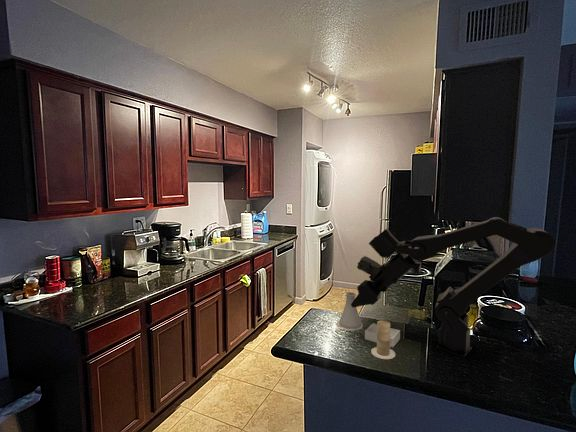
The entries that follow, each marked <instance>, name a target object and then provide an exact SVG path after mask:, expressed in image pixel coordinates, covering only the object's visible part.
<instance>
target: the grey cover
mask: <svg viewBox="0 0 576 432" xmlns="http://www.w3.org/2000/svg"><path fill="white" fill-rule="evenodd" d="M364 340H367V341H370V342H373V343H375V344H377V323H374V322H372V323H371V324H370V325H369V327H367V328H366V329H365V330H364ZM400 340H401V330H400V329H396V328H393V327H392V328H391V327H390V348H394V347H395V346H396V344H398V342H399V341H400Z"/></svg>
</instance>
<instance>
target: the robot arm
mask: <svg viewBox="0 0 576 432" xmlns="http://www.w3.org/2000/svg"><path fill="white" fill-rule="evenodd" d="M492 236H498V237H501V238H503V239H505V240H507V241H509V242H511V243H512V244H511V245H509V248H508V249H507V250H506V252H504V253H503V255H501V256H500V257H498V258H497V259H496V260H494V261H493V262H492V263H490V264H489V265H488V266H487V267H485V268H484V269H483V270H482V271H480V272H479V273H478V274H476V275H475V276H474V277H473V278H472V279H470V280H469V281H468V282H466V283H465V284H463V285H462V286H461V287H459V288H456V289H453V288H452V286H449V287H447V289H446V290H445V291H444V292H442V293H439V294H438V297H437V300H436V303H435V307H434V315H435V317H436V318H437V320H438V321H440V322H441V324H440V327H439V328H438V337H437V338H438V341H437V342H438V345H437V349H439V350H442V351H444V352H448V353H449V354H452V355H455V356H457V357H461V358H465V357H466V356H467V355H468V353H469V352H470V351H471V350H472V348H473V347H472V346H470V345H471V343H470V342H471V340H470V339H471V328H470V327H469V320H470V319H469V318H470V317H469V314H468V313H467V312H466V311H467V309H468V308H469V307H470V305H472V303H473V302H475V300H477V299H479V298H480V297H481V296H483V295H484V294H486V293H487V292H488V291H489V290H490V289H492V288H493V287H495V286H496V285H497V284H499V283H500V282H501V281H502V280H505V278H507V277H508V276H510V275H511V274H512V273H514V272H515V271H516V270H518V269H519V268H521V267H523V266H526V265H528V264H531V263H534V262H536V261H539V260H540V259H542V258H545V257H546V256H549V255H550V254H551V253H553V251H555V249H556V241H555V239H554V236H552V235H551V234H550V233H548V232H547V231H545V230H544V229H541V228H538V227H527V228H526V227H524V226H521V225H519V224H515V223H513V222H510V221H507V220H504V219H503V218H501V217H498V216H493V217H491V218H489V219H487V220H484V221H480V222H477V223H474V224H470V225H468V226H464V227H461V228H457V229H453V230H451V231H448V232H444V233H440V234H439V233H438V234H429V235H422V236H421V235H420V236H417V237H415V238H413V239H412V240H401V241H399V239H397V238H396V237H395V236H394V235H393V234H392V233H391V231H390V230H389V228H385V229H384V230H383V231H382V232H380V233H379V234H378V235H376V236H374V237H373V239H371V240H370V241H369V243H368V245H370V246H371V248H372V249H373V250H374V251H375V252H376V253H377V254H378V255H379V257H381V258H382V259H383V258H384V259H385V258H387V259H388V261H386V262H384V263H382V264H380V263H378V262H377V261H375V260H374V259H372V258H370V257H368V256H366V255H365V256H364V255H363V256H362V257H361V258H360V259H359V262H357V266H356V269H358V270H359V271H362V272H364V273H366V274H367V275H369V276H368V278H369V279H370V280H369V279H368V280H363V281H362V283H360V284H359V285H358V286H357V287H356V289H357V291H358V292H357V293H358V294H356V296H355V299H354V301H353V302H352V303H351V306H352V307H353V308H354V307H356V308H358V307H363V306H367V305H371V306H372V305H373V306H374V305H375V304H376V303H377V302H378V301H379V300H380V299H381V298H382V296H381V294H382V293H385V292H387V291H388V289H389V288H391V287H392V286H393V285H395V284H396V283H397V282H398V281H399V280H400V279H402V278H403V277H404V276H405V275H407V274H408V273H409V272H410V271H411V270H413V271H414V273H416V274H420V272H421V270H422V268H421V267H422V262H421V261H424V260H427V259H429V258H431V257H433V256H435V255H437V254H438V253H440V252H442V251H445V250H447V249H449V248H454V247H457V246H461V245H465V244H467V243H471V242H474V241H477V240H482V239H484V238H488V237H492ZM395 253H396V254H395ZM393 254H395V255H393ZM392 255H393V257H391V256H392ZM390 257H391V258H390ZM389 258H390V259H389Z"/></svg>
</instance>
